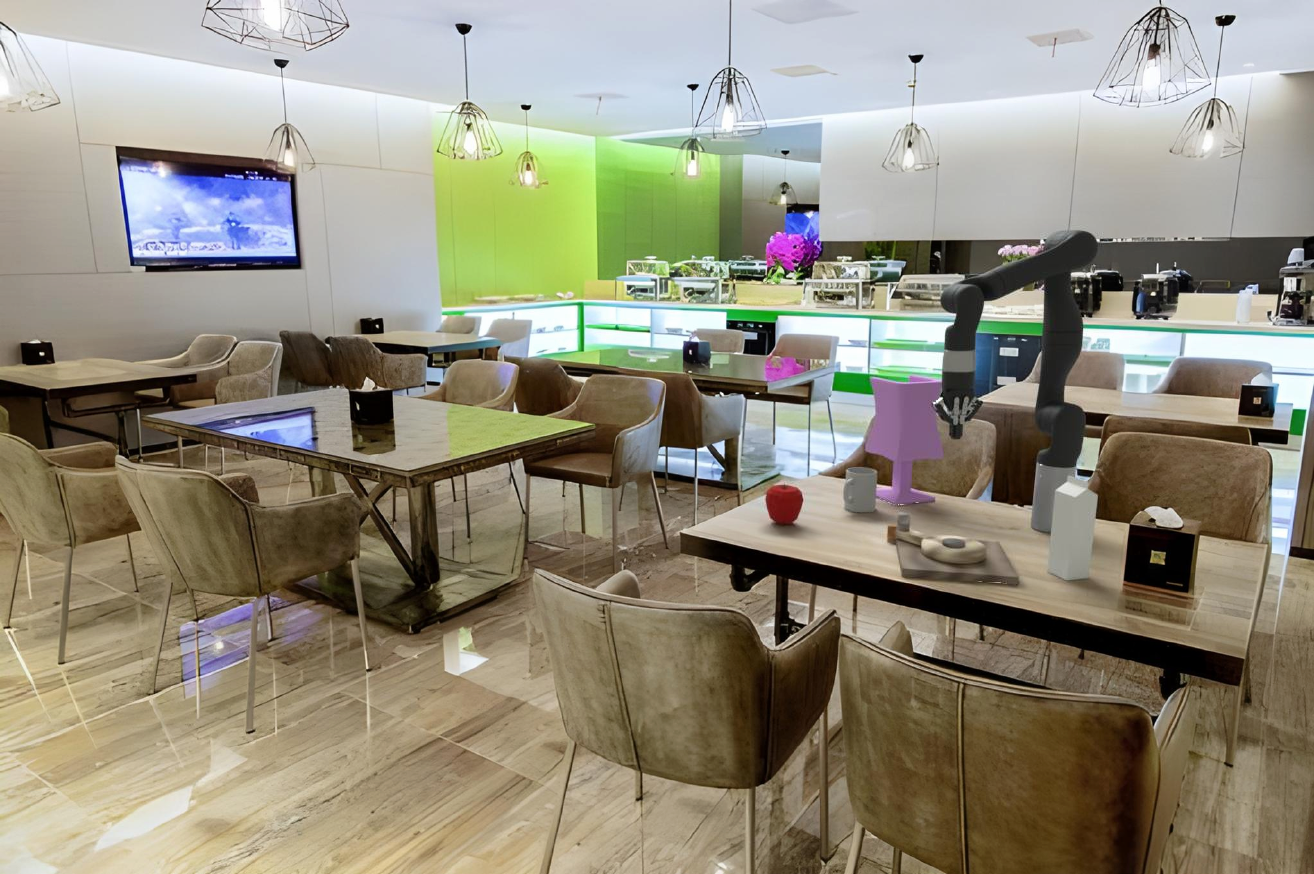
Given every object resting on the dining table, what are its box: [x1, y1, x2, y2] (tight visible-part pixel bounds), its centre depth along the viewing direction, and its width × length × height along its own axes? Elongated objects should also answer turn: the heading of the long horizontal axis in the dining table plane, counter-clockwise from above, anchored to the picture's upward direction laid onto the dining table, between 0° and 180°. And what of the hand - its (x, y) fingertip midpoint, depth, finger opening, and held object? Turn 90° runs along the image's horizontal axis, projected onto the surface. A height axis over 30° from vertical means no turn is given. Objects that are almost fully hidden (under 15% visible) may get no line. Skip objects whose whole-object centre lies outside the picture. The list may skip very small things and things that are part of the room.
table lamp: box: [864, 374, 945, 506], centre depth 245 cm, size 16×16×35 cm
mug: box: [842, 466, 878, 513], centre depth 235 cm, size 12×8×11 cm
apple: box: [764, 483, 804, 525], centre depth 222 cm, size 10×10×11 cm
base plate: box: [886, 522, 1019, 585], centre depth 196 cm, size 26×26×4 cm
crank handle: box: [895, 511, 986, 564], centre depth 198 cm, size 22×14×6 cm, turn 37°
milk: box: [1046, 476, 1099, 581], centre depth 185 cm, size 6×6×22 cm
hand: (955, 438), depth 207 cm, fingers closed
